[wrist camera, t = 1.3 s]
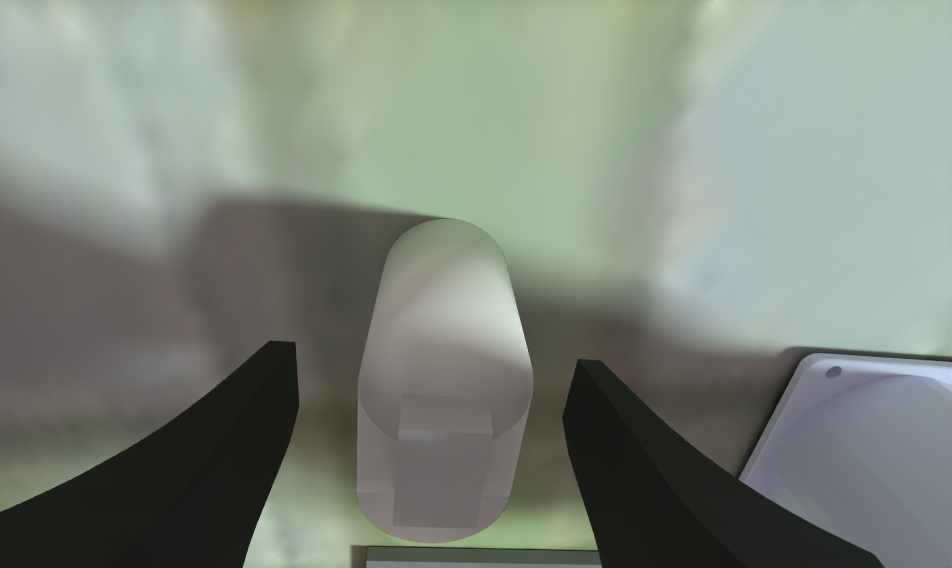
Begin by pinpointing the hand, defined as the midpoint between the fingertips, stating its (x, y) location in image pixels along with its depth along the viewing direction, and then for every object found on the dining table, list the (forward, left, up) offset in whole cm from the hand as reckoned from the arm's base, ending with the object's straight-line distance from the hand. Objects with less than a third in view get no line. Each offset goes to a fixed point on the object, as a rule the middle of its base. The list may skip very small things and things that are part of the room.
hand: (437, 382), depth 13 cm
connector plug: (0, 0, -3) cm, 3 cm away
